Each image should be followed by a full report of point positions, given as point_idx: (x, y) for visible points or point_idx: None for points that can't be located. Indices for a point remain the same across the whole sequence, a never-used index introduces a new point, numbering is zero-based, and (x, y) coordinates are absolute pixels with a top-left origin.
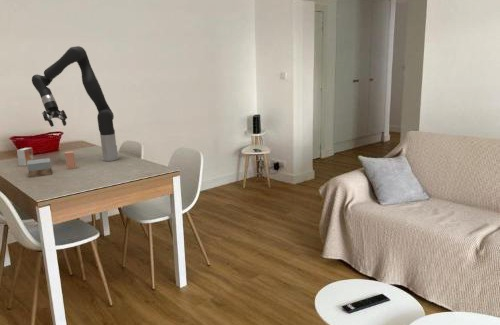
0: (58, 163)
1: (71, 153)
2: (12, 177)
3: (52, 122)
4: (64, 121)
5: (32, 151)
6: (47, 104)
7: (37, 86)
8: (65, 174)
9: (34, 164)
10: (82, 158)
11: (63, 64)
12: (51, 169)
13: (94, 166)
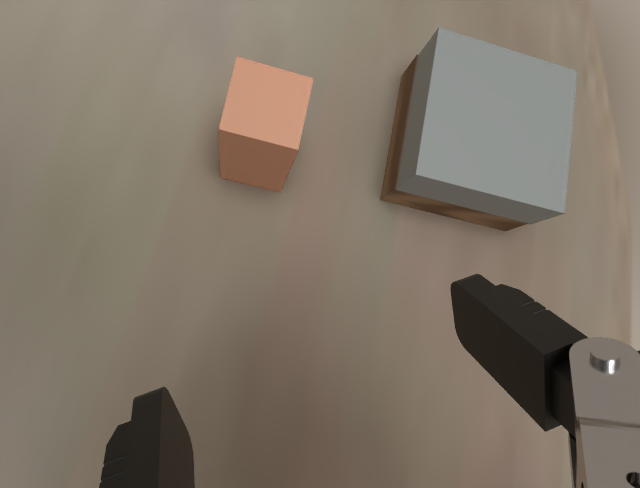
0: (287, 401)
1: (257, 67)
2: (596, 187)
3: (501, 308)
4: (148, 449)
5: None
6: None
7: None
8: (340, 6)
9: (533, 61)
10: (52, 468)
11: None
12: (415, 59)
13: (108, 65)
